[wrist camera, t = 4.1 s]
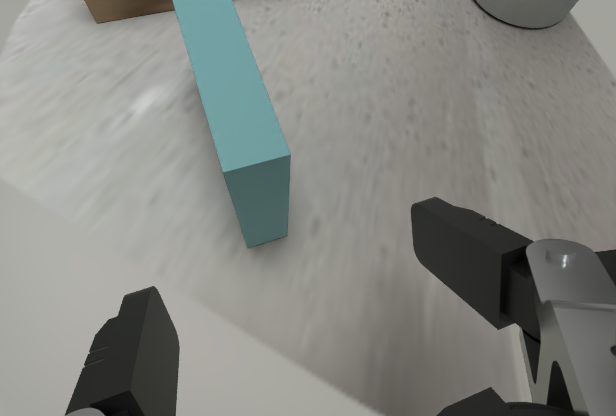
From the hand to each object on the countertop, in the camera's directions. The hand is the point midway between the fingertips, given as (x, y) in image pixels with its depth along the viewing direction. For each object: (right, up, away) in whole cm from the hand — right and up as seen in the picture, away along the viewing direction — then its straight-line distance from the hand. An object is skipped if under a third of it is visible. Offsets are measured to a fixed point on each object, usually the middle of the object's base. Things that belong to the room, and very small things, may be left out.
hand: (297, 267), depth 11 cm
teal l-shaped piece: (-4, +6, +13) cm, 15 cm away
